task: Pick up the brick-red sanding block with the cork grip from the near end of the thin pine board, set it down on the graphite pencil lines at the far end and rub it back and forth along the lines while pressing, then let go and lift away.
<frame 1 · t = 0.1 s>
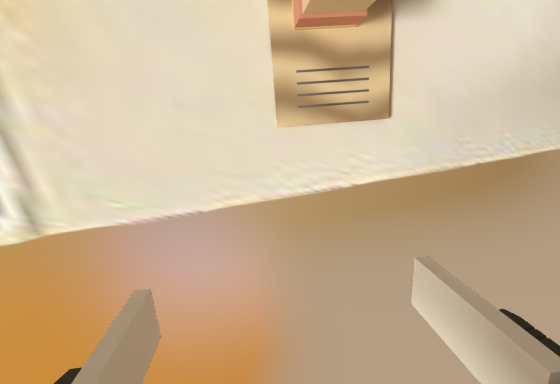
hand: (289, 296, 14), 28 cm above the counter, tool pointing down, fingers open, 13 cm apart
board: (331, 53, 37), on the counter
sanding block: (323, 1, 35), resting on board
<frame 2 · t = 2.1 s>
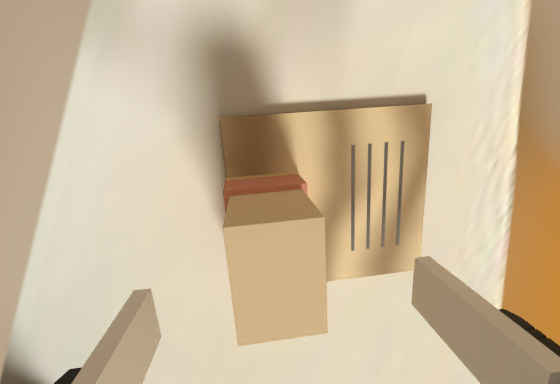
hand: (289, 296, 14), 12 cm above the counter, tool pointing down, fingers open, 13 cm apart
board: (329, 201, 25), on the counter
sanding block: (266, 220, 25), resting on board
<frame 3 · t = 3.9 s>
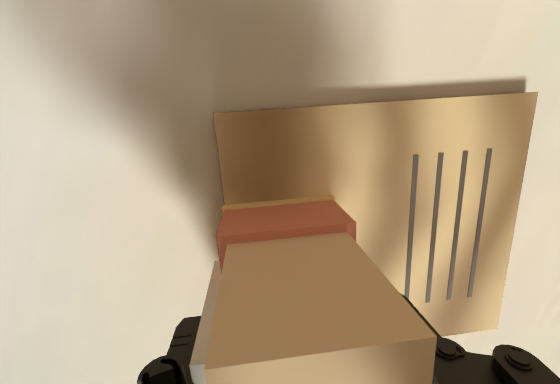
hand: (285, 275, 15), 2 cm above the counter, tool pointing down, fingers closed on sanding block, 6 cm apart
board: (375, 235, 17), on the counter
sanding block: (282, 265, 17), point 1 cm above the counter, touching board, gripper
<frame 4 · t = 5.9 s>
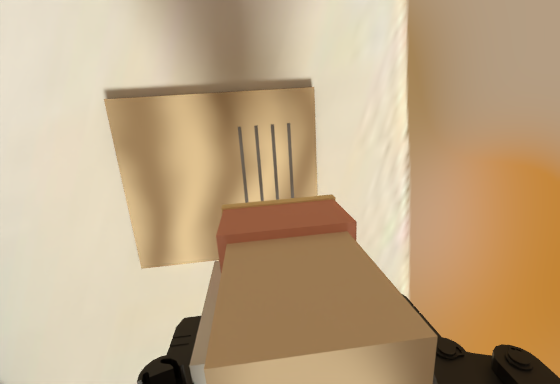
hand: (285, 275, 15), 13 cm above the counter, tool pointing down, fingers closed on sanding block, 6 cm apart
board: (224, 181, 27), on the counter
sanding block: (282, 264, 17), point 12 cm above the counter, touching gripper
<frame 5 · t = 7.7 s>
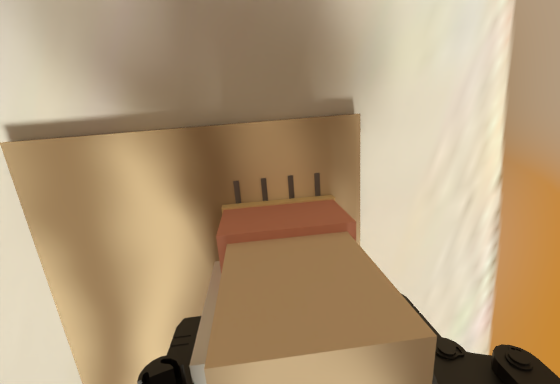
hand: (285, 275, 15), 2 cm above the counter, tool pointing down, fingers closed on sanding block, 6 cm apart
board: (212, 262, 17), on the counter
sanding block: (282, 264, 17), point 1 cm above the counter, touching gripper
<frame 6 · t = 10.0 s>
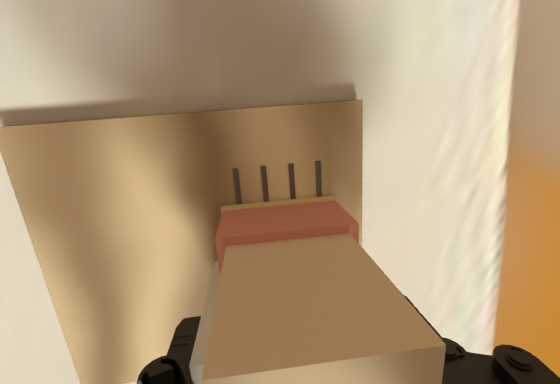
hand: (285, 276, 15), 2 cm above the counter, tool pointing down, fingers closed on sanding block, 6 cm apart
board: (211, 253, 16), on the counter
sanding block: (283, 266, 16), point 1 cm above the counter, touching gripper
when the fingers open (2 cm above the counter, at t = 11.5 s): sanding block stays where it is, resting on board.
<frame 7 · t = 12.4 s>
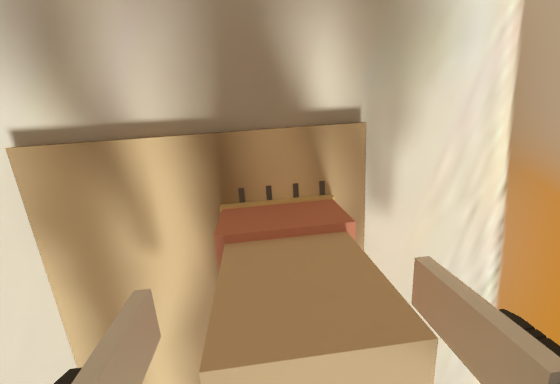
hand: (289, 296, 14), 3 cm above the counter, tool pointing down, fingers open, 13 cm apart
board: (216, 268, 17), on the counter
sanding block: (281, 265, 16), point 1 cm above the counter, touching board
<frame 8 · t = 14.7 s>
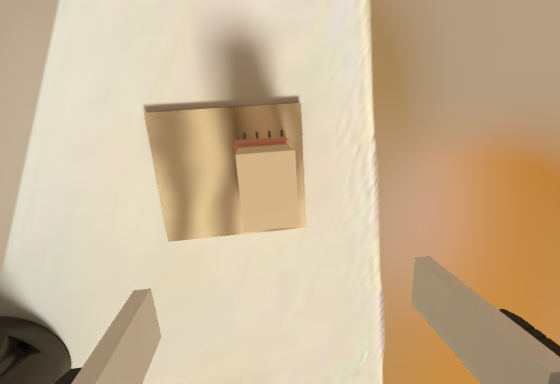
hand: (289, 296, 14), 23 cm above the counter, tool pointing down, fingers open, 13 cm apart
board: (232, 174, 35), on the counter
sanding block: (263, 171, 34), point 1 cm above the counter, touching board
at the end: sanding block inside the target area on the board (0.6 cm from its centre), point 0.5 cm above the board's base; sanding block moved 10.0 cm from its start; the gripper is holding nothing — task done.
